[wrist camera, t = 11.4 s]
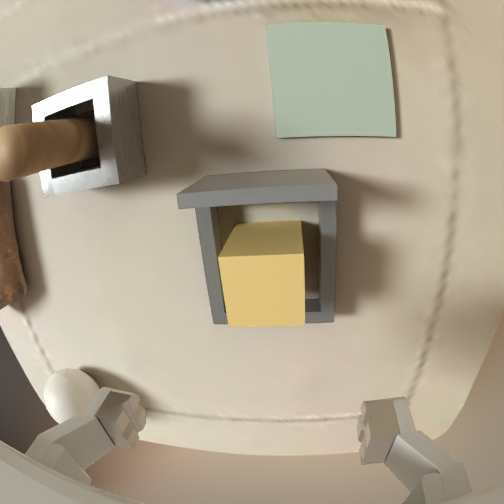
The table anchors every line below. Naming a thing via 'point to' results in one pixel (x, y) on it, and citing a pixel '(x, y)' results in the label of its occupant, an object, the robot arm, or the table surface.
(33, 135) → the rod
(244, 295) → the block
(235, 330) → the table surface
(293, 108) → the pad
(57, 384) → the white ovoid
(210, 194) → the case
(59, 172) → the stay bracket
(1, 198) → the pipe
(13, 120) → the small box
